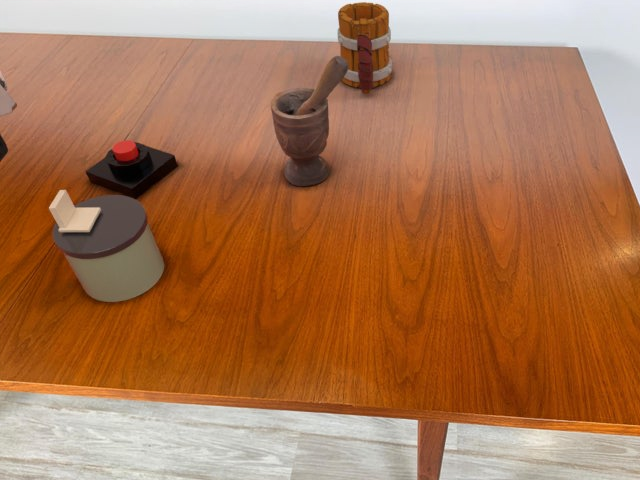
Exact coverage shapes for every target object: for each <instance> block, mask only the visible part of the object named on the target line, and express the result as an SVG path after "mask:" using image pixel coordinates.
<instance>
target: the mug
mask: <svg viewBox="0 0 640 480" xmlns="http://www.w3.org/2000/svg"><path fill="white" fill-rule="evenodd" d="M337 18H338V27H337V41H338V43H339V45H340V46H339V48H340V51H339V53H340V57H342V58H344V59H345V60H346V61H347V63H348V71H347V73H346V75H345V76H344V78H343V79H342V80H341V82H342V83H343V84H345V85H347V86H349V87H351V88H352V87H353V88H355V89H358V88H359V89H361V93H362V94H365V95H366V94H367V95H368V94H370V93H371V90H374V88H378V87H379V86H380V87H381V86H382V85H385V83H388V82H389V81H390V79H391V77H392V72H393V61H392V58H391V56H390V51H389V49H390V44H389V43H390V42H391V40H392V39H391V38H392V30H391V27H390V12H389V10H388V9H387V8H386V7H385V6H383V5H381V4H379V3H374V2H366V1H365V2H364V1H362V2H354V3H347V4H345V5H343V6H342V7H340V8H339V9H338V11H337Z"/></svg>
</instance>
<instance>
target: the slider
mask: <svg viewBox="0 0 640 480" xmlns="http://www.w3.org/2000/svg"><path fill="white" fill-rule="evenodd" d="M74 206H75V204H74V202H73V201H72V198H71V197H70V195H69V193H68V191H67V189H59V191H58V192H57V194H56V195H55V197H54V199H53V200H52V202H51V203H50V205H49V207H48V210H49V212H50V213H51V215H52V217H53V218H54V220H55V223H56V222H57V224H58V226H59V227H60V228H59V232H90V230H91V228H92V226H93V224H94V223H95V221H96V219H97V217H98V215H99V213H100V211H101V208H75V207H74Z"/></svg>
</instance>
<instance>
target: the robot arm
mask: <svg viewBox="0 0 640 480" xmlns="http://www.w3.org/2000/svg"><path fill="white" fill-rule="evenodd" d="M17 107H18V103H17V101H16V100H14V98H13V97H12V96H11V95H10V94H9V92H8V85H7V82H6V79H5V77H4V75H3V73H2V71H1V70H0V118H1V117H3V116H7V115H10V114H11V113H13V112H14V111H15V109H16V108H17ZM8 153H9V148H8V145H7V143H6V141H5V139H4V138H3V136H2V134H1V133H0V163H1V162H2V160H3V159H4V158H5V157H6V155H7V154H8Z"/></svg>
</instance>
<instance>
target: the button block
mask: <svg viewBox="0 0 640 480" xmlns="http://www.w3.org/2000/svg"><path fill="white" fill-rule="evenodd" d="M128 140H129V139H128ZM129 141H131V140H129ZM133 142H134V143H135V144H136V147H137V149H138V152H139V155H138V156H137V157H136V158H135V159H132V160H129V161H118V160H117V159H116V157H115V155H114V152H113V150H112V148H111V149H109V150H108V151H107V152H106V155H105V157H104V158H102V159H101V160H99V161H98V162H97V163H95V164H93V165H92V166H90V167H89V168H88V169H86V170H85V174H86V176H87V178H88V180H89V182H90V183H91V184H94V185H97V186H99V187H103V188H105V189H108V190H110V191H113V192H115V193H118V194H120V195H122V196H127V197H130V198H133V199H135V200H137V199H138V198H139V197H141V196H142V195H144V194H145V193H146V192H147V191H149V190H150V189H151V188H152V187H153V186H155V185H156V184H157V183H158V182H160V181H161V180H162V179H164V178H165V177H166V176H167V175H169V174H170V173H171V172H172V171H174V170H175V169H176V168H177V167H178V166H179V165H178V162H177V159H176V155H175V154H172V153H170V152H166V151H163V150H160V149H157V148H154V147H151V146H148V145H146V144H144V143H140V142H138V141H133Z"/></svg>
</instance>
